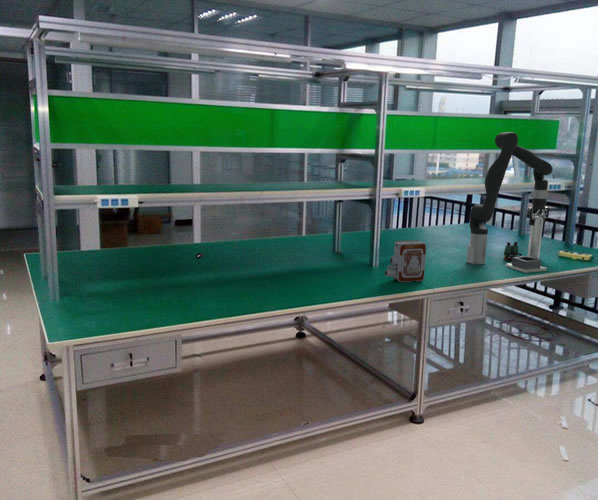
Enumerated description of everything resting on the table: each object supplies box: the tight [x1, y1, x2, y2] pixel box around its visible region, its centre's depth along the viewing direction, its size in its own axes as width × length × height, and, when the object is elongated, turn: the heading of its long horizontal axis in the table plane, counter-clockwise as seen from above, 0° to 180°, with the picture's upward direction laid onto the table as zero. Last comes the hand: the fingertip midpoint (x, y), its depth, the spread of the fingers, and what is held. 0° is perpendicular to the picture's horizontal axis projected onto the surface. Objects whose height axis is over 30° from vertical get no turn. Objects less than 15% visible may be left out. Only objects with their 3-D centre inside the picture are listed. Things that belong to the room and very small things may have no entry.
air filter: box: [527, 215, 544, 260], centre depth 328 cm, size 6×6×25 cm
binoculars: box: [503, 241, 523, 262], centre depth 323 cm, size 9×11×10 cm
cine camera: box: [384, 240, 427, 283], centre depth 274 cm, size 9×19×20 cm, turn 103°
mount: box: [504, 255, 548, 274], centre depth 304 cm, size 15×15×6 cm
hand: (536, 225), depth 326 cm, fingers open, 8 cm apart
